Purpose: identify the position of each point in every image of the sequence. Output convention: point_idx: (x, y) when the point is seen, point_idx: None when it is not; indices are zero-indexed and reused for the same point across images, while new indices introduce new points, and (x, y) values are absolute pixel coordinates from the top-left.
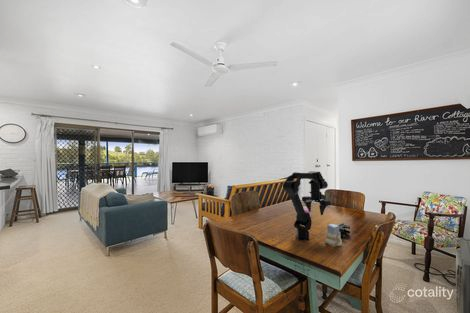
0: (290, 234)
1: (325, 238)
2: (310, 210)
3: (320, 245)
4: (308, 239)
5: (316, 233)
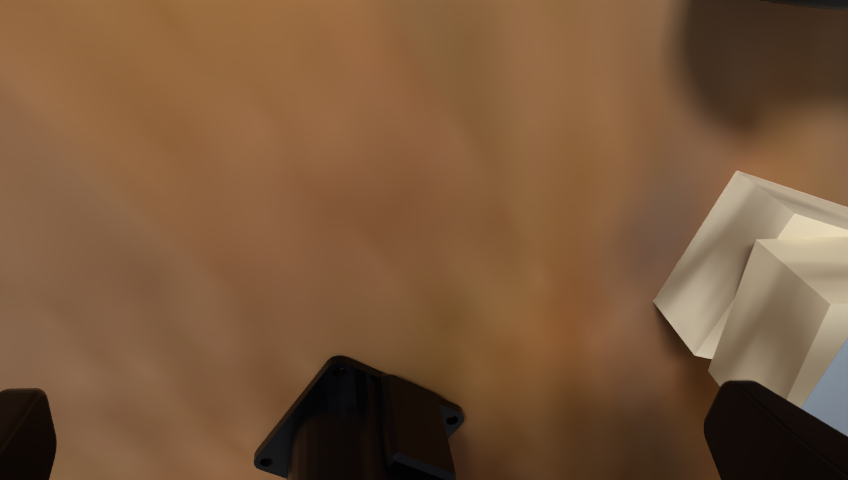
0: (142, 461)
1: (682, 339)
2: (17, 473)
3: (632, 407)
4: (457, 426)
5: (370, 103)
